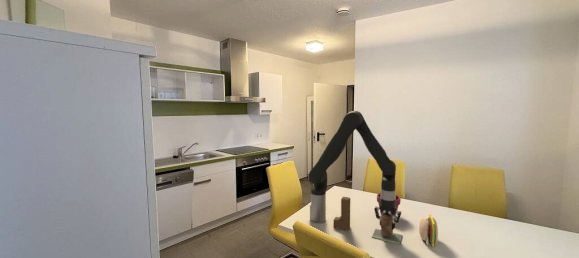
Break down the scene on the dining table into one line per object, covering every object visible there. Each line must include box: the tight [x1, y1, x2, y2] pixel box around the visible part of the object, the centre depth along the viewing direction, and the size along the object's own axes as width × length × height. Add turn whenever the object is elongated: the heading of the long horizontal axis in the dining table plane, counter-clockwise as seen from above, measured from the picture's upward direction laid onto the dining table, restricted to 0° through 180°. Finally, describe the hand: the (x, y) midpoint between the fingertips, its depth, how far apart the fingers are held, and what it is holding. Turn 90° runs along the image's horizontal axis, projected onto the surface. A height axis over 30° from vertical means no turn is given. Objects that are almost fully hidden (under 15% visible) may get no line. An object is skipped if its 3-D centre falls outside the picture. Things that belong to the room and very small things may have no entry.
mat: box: [371, 228, 403, 245], centre depth 131 cm, size 14×10×1 cm
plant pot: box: [376, 192, 401, 218], centre depth 157 cm, size 14×14×13 cm
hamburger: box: [418, 213, 439, 247], centre depth 127 cm, size 12×8×12 cm
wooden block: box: [333, 196, 351, 231], centre depth 142 cm, size 9×4×18 cm, turn 64°
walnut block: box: [380, 214, 394, 238], centre depth 131 cm, size 5×7×11 cm
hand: (387, 227), depth 131 cm, fingers closed on walnut block, 5 cm apart
